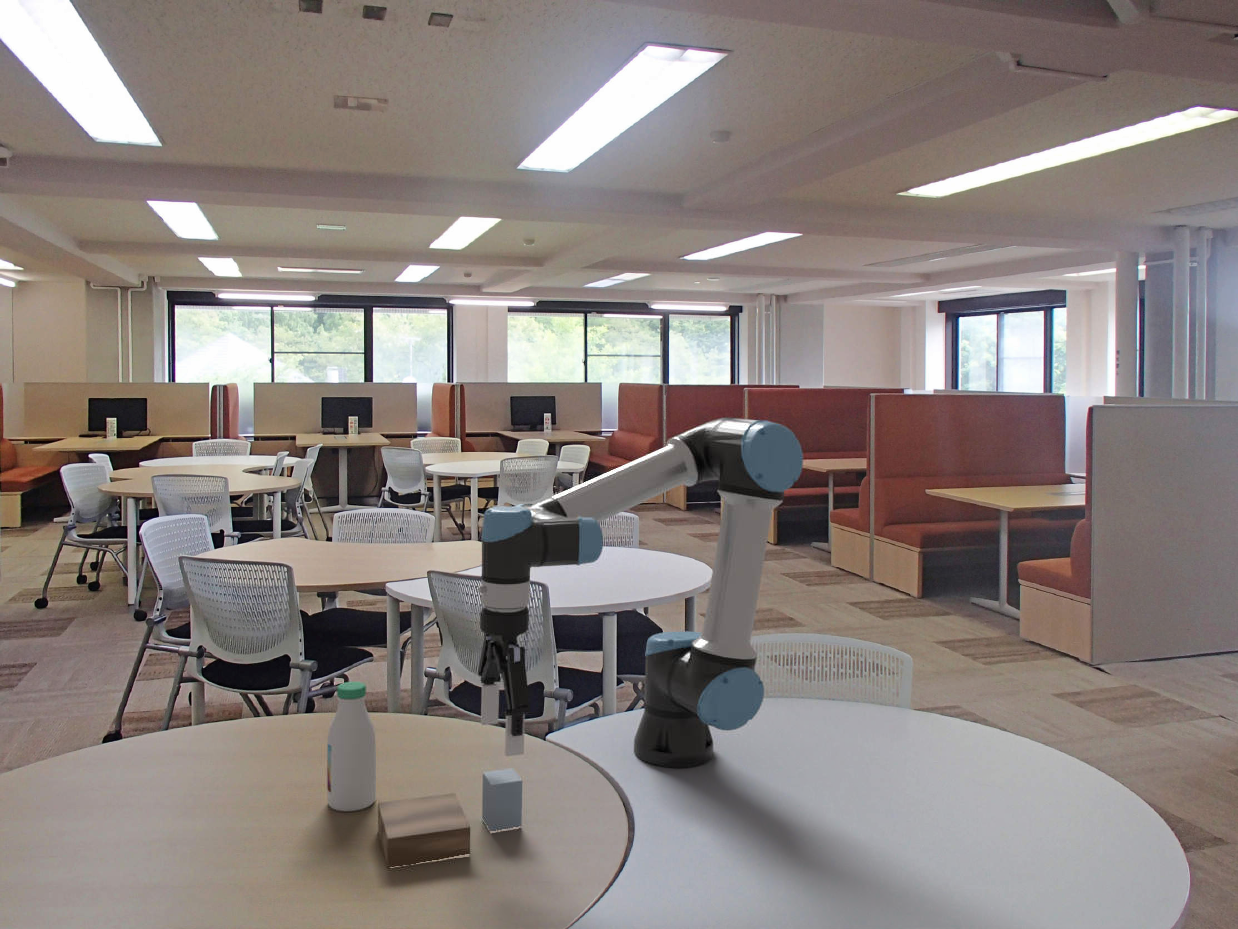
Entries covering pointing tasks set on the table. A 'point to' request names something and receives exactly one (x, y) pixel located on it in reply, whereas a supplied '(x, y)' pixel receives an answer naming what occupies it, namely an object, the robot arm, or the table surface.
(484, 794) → the block
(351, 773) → the milk bottle
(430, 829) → the walnut box
